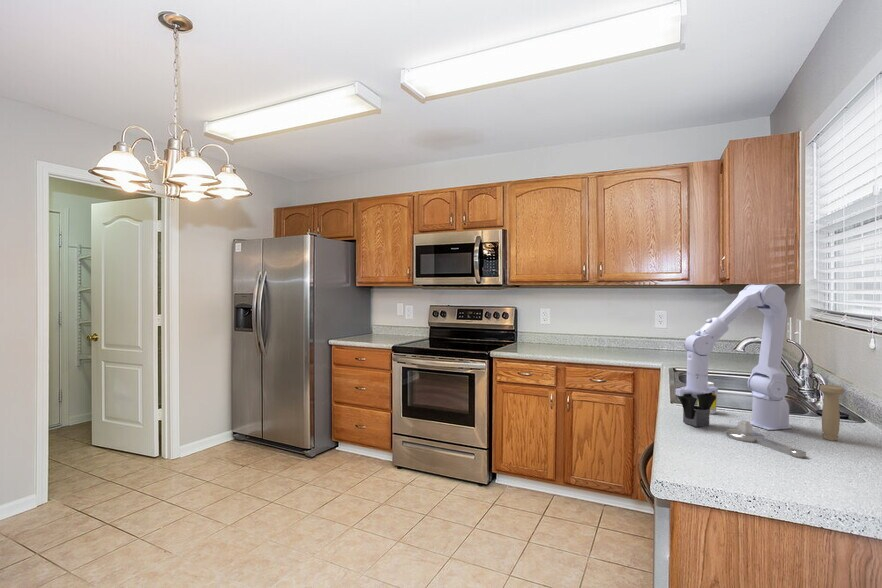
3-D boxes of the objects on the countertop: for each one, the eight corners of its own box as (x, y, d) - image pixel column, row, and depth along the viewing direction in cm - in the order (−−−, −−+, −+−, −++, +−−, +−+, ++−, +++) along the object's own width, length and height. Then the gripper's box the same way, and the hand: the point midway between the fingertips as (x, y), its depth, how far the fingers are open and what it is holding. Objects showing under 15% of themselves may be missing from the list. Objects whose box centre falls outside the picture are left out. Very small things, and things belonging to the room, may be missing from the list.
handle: (843, 439, 127) (845, 387, 127) (839, 444, 123) (840, 389, 123) (821, 435, 131) (823, 384, 131) (816, 439, 127) (818, 386, 126)
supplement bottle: (720, 413, 152) (720, 383, 152) (708, 415, 150) (709, 384, 150) (705, 409, 157) (706, 380, 157) (693, 410, 155) (694, 381, 155)
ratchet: (742, 431, 133) (742, 415, 133) (817, 456, 113) (818, 438, 113) (718, 433, 130) (718, 417, 130) (791, 459, 110) (791, 441, 110)
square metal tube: (695, 421, 142) (696, 405, 142) (709, 425, 137) (709, 409, 137) (683, 422, 140) (683, 406, 140) (696, 426, 135) (696, 410, 135)
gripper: (688, 377, 133) (687, 423, 133) (727, 375, 137) (725, 419, 137) (670, 373, 139) (669, 416, 139) (707, 371, 143) (706, 413, 143)
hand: (696, 417), depth 139 cm, fingers closed on square metal tube, 5 cm apart
